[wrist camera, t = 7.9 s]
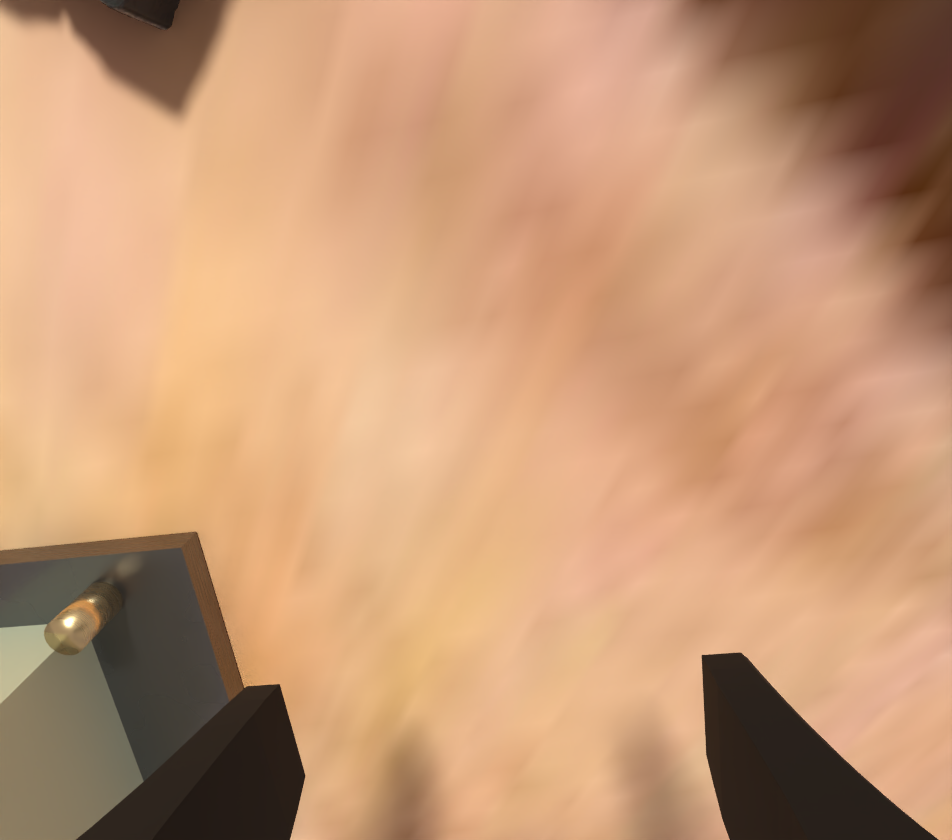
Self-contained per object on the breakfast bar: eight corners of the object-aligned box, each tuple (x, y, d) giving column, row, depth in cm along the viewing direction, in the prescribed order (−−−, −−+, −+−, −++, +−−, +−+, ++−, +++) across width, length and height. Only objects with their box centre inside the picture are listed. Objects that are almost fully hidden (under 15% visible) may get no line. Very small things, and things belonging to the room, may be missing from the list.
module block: (84, 621, 22) (-70, 772, 16) (154, 811, 25) (43, 1000, 19) (-30, 630, 23) (-217, 780, 17) (51, 816, 25) (-88, 1001, 19)
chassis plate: (289, 839, 26) (259, 919, 23) (-1, 851, 27) (-63, 929, 24) (196, 531, 22) (146, 584, 19) (-140, 564, 23) (-233, 617, 20)
